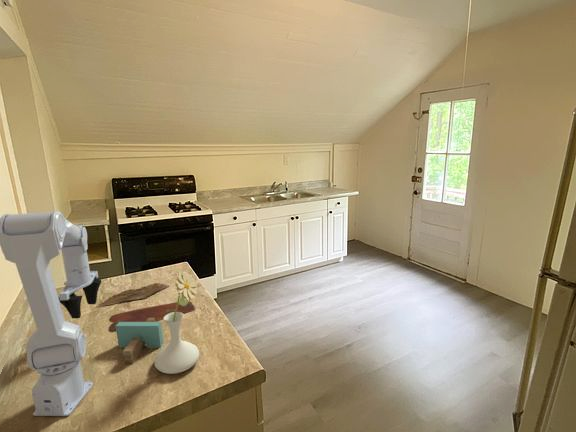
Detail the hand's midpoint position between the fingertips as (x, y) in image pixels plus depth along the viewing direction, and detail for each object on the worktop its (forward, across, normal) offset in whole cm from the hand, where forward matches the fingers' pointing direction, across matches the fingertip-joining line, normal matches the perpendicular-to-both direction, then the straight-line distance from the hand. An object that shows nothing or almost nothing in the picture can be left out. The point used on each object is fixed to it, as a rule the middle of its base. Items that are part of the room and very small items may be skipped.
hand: (84, 310), depth 94 cm
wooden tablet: (+10, -14, +14) cm, 22 cm away
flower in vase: (+10, +10, +30) cm, 33 cm away
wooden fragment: (+10, -27, +1) cm, 29 cm away
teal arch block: (+9, +3, +17) cm, 20 cm away
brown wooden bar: (+9, +3, +17) cm, 20 cm away
